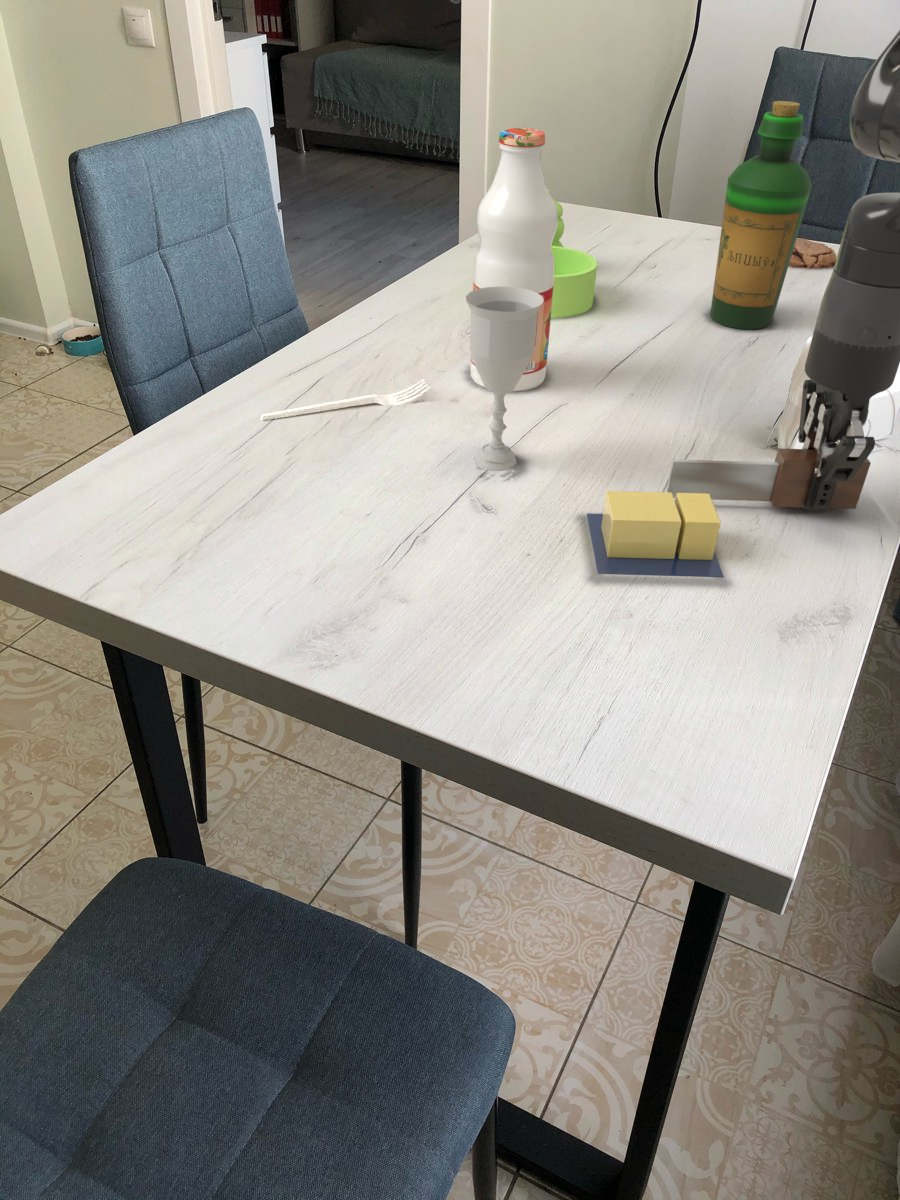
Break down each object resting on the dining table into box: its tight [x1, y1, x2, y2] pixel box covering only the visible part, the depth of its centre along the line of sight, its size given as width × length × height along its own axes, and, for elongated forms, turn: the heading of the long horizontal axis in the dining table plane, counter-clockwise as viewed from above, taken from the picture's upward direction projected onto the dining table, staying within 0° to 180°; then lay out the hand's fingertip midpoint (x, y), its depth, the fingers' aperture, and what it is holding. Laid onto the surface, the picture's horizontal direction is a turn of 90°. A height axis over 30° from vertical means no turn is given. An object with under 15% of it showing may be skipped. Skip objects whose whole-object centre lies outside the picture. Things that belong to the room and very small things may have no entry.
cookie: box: [788, 237, 837, 270], centre depth 156 cm, size 10×11×3 cm
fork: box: [260, 379, 431, 422], centre depth 108 cm, size 3×20×2 cm, turn 112°
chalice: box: [465, 287, 543, 472], centre depth 93 cm, size 7×7×18 cm
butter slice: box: [674, 493, 721, 560], centre depth 85 cm, size 3×5×4 cm, turn 179°
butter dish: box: [586, 490, 724, 578], centre depth 85 cm, size 11×10×5 cm
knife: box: [665, 447, 871, 510], centre depth 89 cm, size 18×2×5 cm, turn 89°
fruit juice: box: [469, 127, 558, 392], centre depth 108 cm, size 9×9×28 cm
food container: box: [547, 188, 598, 319], centre depth 139 cm, size 25×15×13 cm, turn 1°
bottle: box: [709, 100, 813, 331], centre depth 126 cm, size 11×11×28 cm
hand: (811, 500), depth 91 cm, fingers closed on knife, 2 cm apart
